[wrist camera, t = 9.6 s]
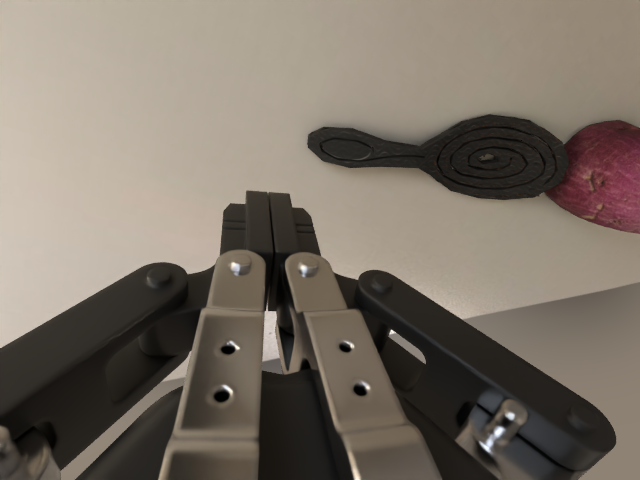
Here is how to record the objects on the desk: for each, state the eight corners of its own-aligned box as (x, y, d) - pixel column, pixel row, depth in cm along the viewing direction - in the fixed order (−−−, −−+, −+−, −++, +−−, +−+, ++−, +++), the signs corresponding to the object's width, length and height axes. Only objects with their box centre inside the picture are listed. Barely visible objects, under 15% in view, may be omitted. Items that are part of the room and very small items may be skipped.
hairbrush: (317, 100, 30) (594, 136, 34) (313, 89, 33) (568, 123, 38) (303, 195, 35) (550, 216, 39) (301, 177, 38) (530, 199, 42)
